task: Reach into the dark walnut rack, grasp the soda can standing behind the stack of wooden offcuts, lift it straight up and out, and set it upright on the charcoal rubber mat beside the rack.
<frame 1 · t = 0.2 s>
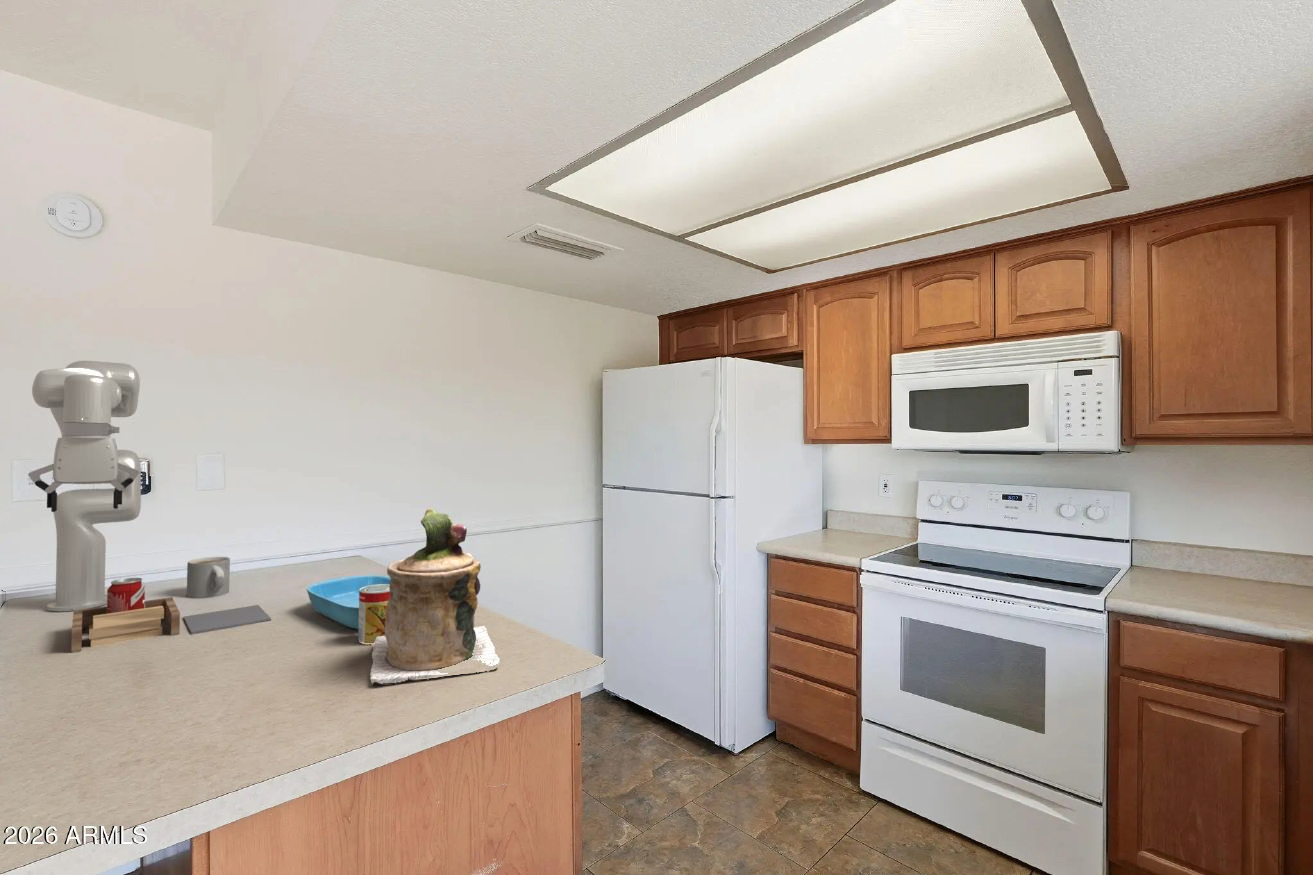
hand: (85, 509, 127), 30 cm above the counter, tool pointing down, fingers open, 9 cm apart
canned food: (377, 640, 136), on the counter
cookie jar: (434, 659, 125), on the counter
offcut stack: (127, 639, 134), on the counter
rubber mat: (227, 619, 148), on the counter
walnut rack: (126, 632, 137), on the counter
soda can: (125, 631, 139), resting in walnut rack
coffee mug: (209, 595, 171), on the counter
casserole dish: (367, 615, 155), on the counter
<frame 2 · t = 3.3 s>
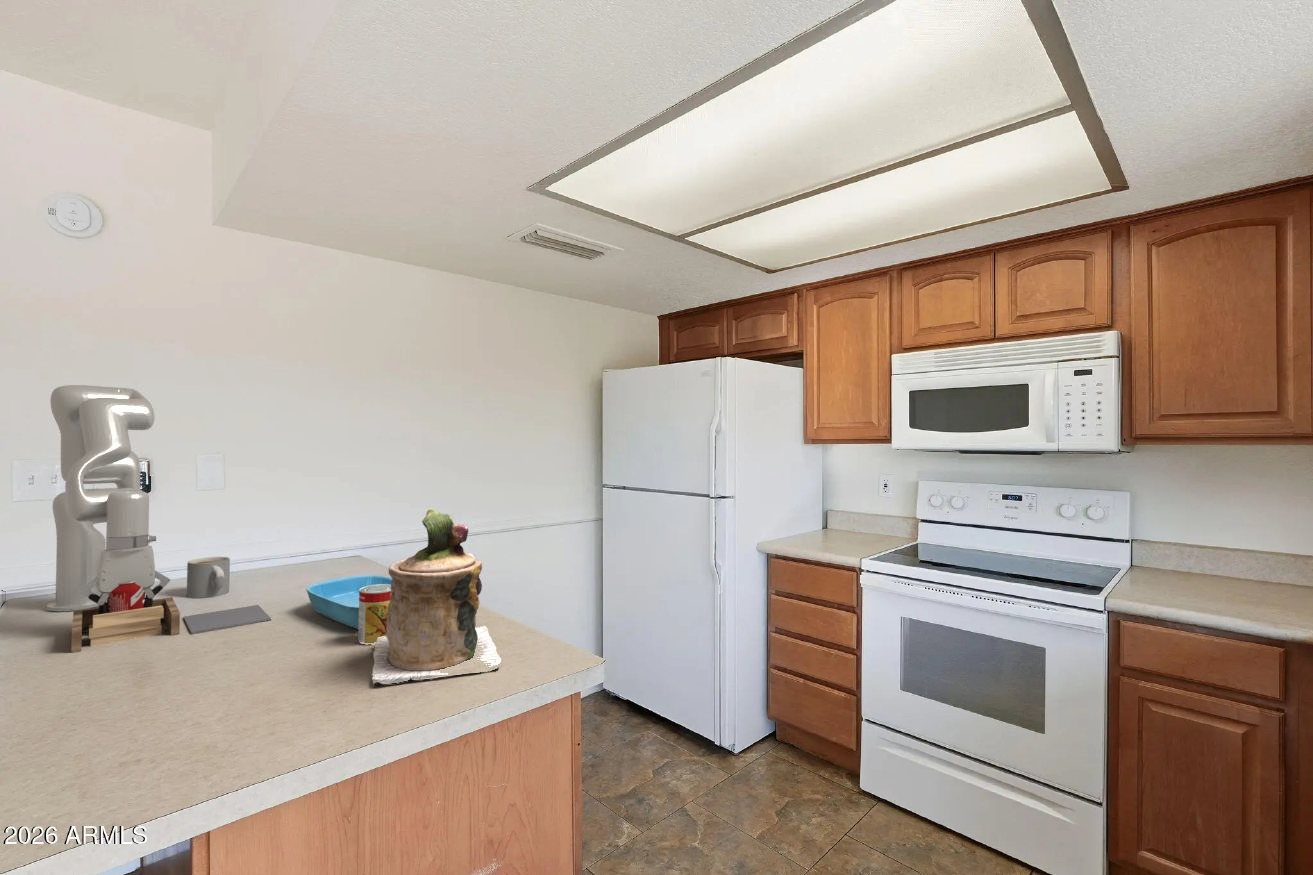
hand: (126, 616, 139), 3 cm above the counter, tool pointing down, fingers closed on soda can, 6 cm apart
soda can: (125, 631, 139), resting in walnut rack, touching gripper
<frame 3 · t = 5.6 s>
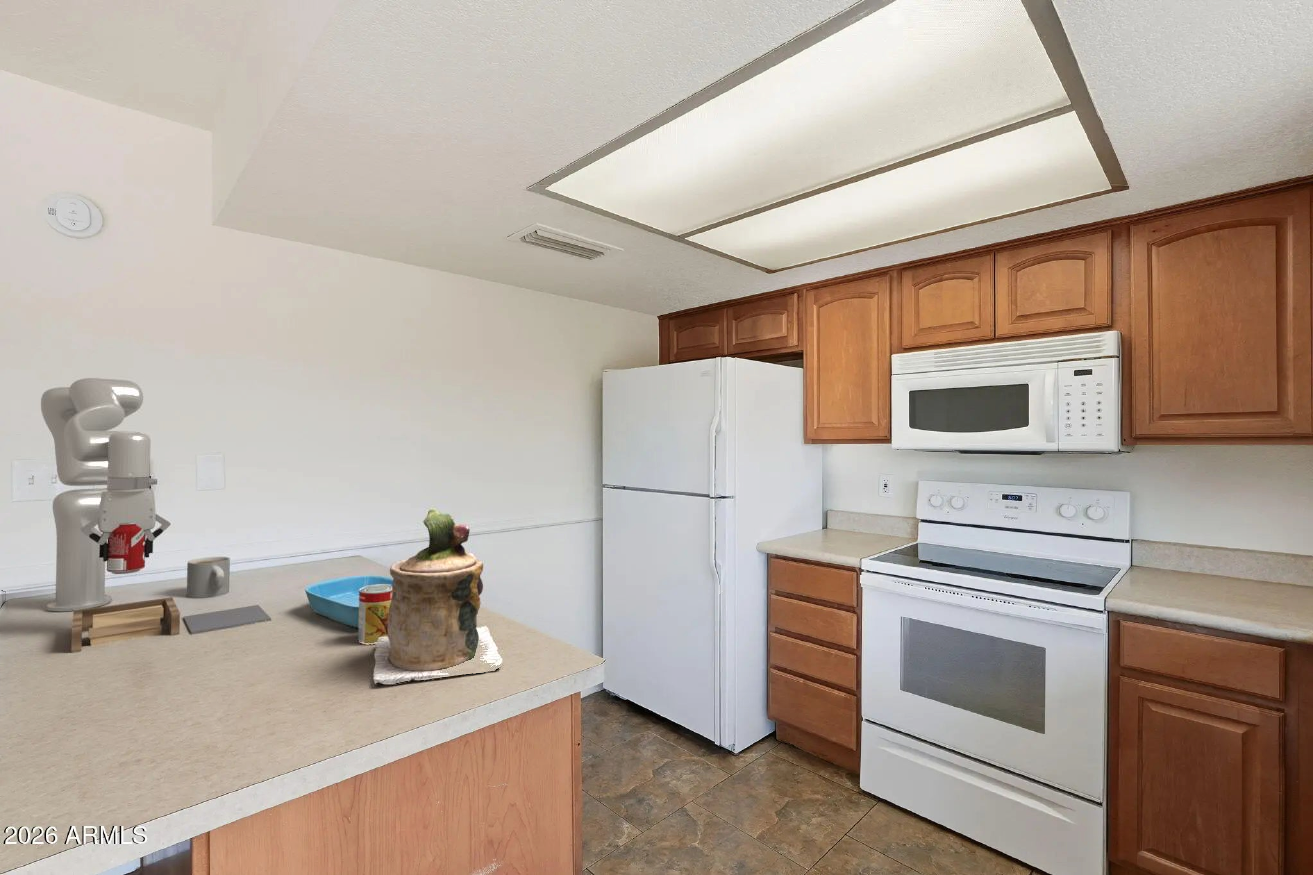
hand: (126, 557, 139), 17 cm above the counter, tool pointing down, fingers closed on soda can, 6 cm apart
soda can: (126, 572, 139), point 14 cm above the counter, touching gripper
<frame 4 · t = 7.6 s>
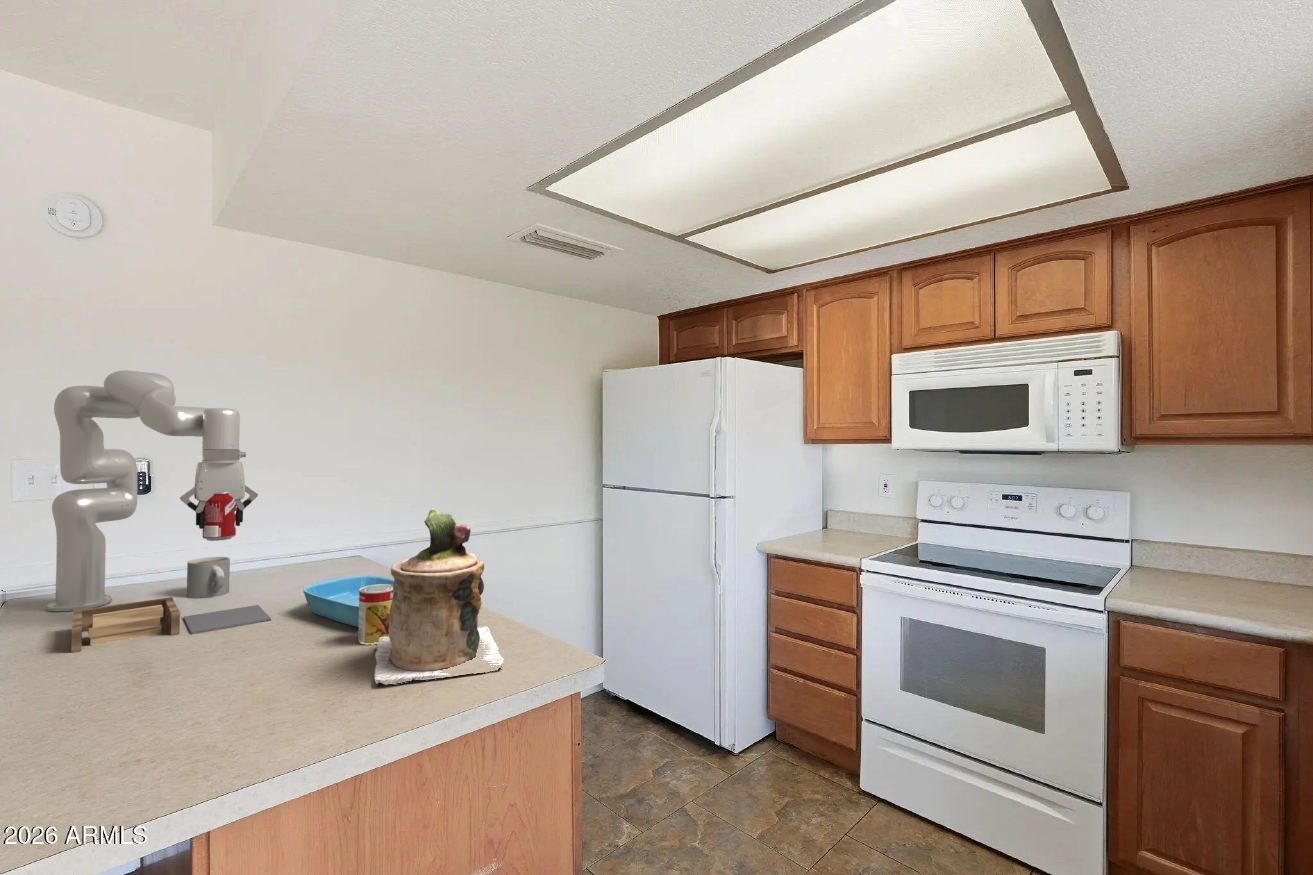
hand: (219, 526, 148), 24 cm above the counter, tool pointing down, fingers closed on soda can, 6 cm apart
soda can: (219, 539, 147), point 21 cm above the counter, touching gripper
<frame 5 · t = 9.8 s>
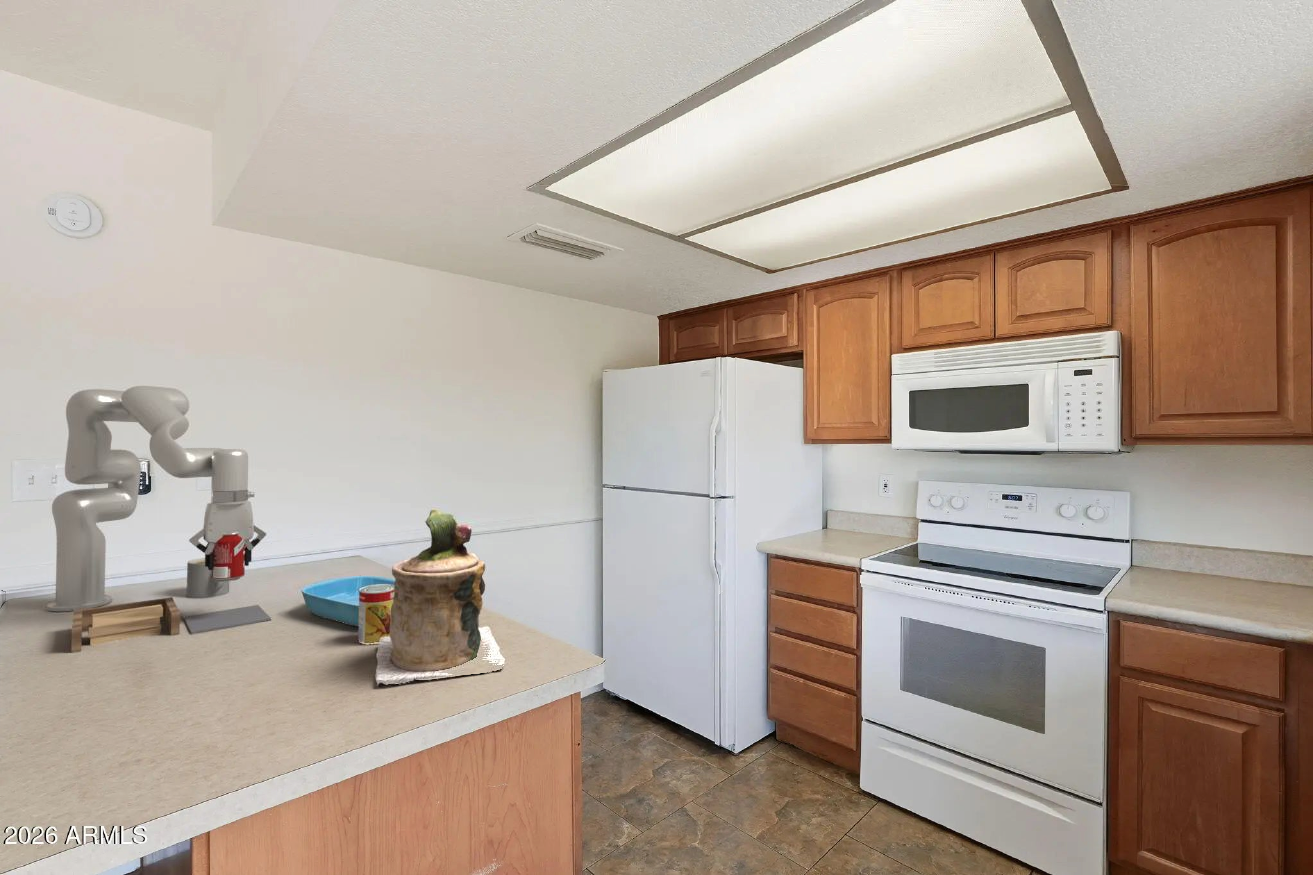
hand: (228, 566, 148), 14 cm above the counter, tool pointing down, fingers closed on soda can, 6 cm apart
soda can: (228, 580, 148), point 10 cm above the counter, touching gripper
when the fingers open (5 cm above the counter, at t = 11.9 s): soda can drops 1 cm, resting on rubber mat.
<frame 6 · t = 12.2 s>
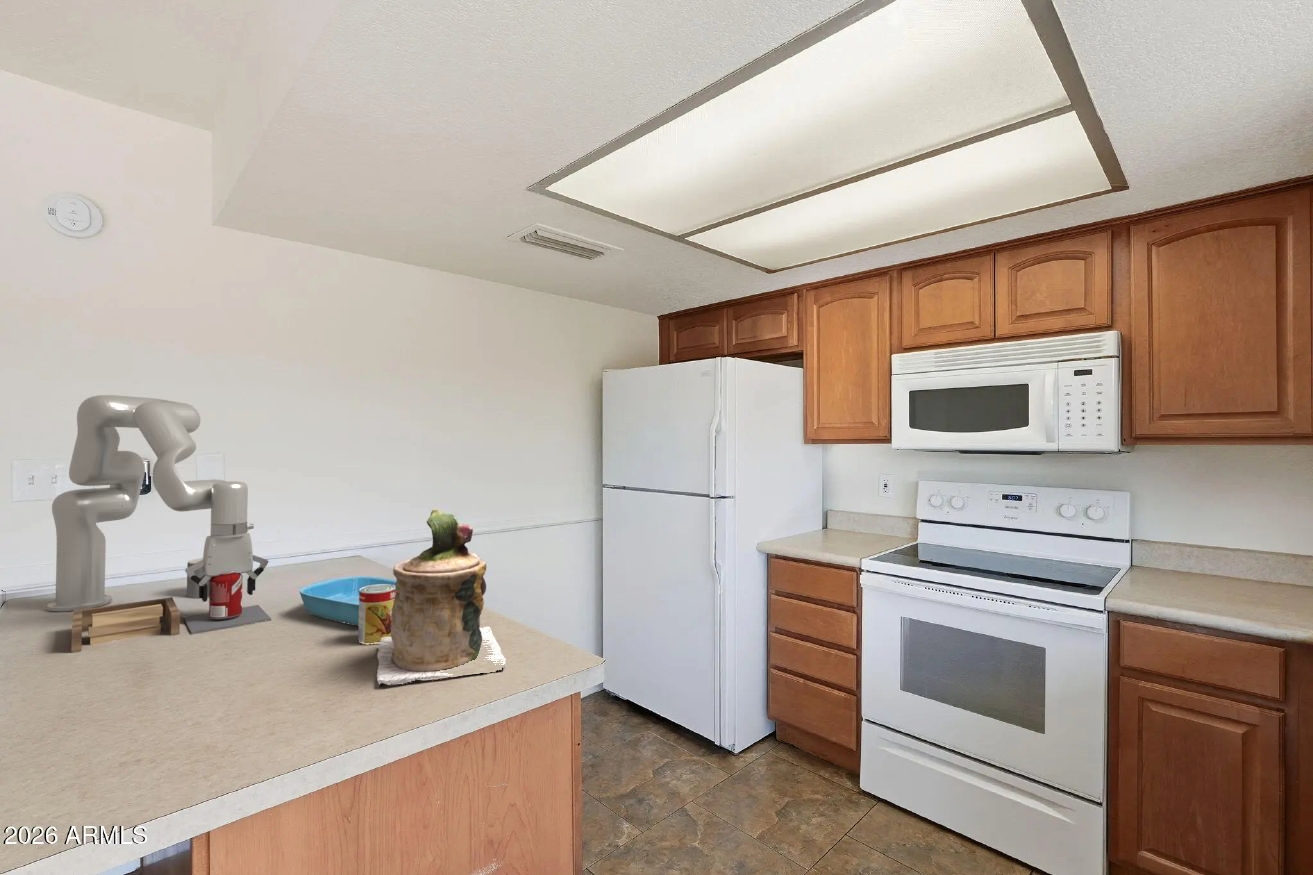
hand: (227, 597, 148), 6 cm above the counter, tool pointing down, fingers open, 9 cm apart
soda can: (225, 618, 148), resting on rubber mat
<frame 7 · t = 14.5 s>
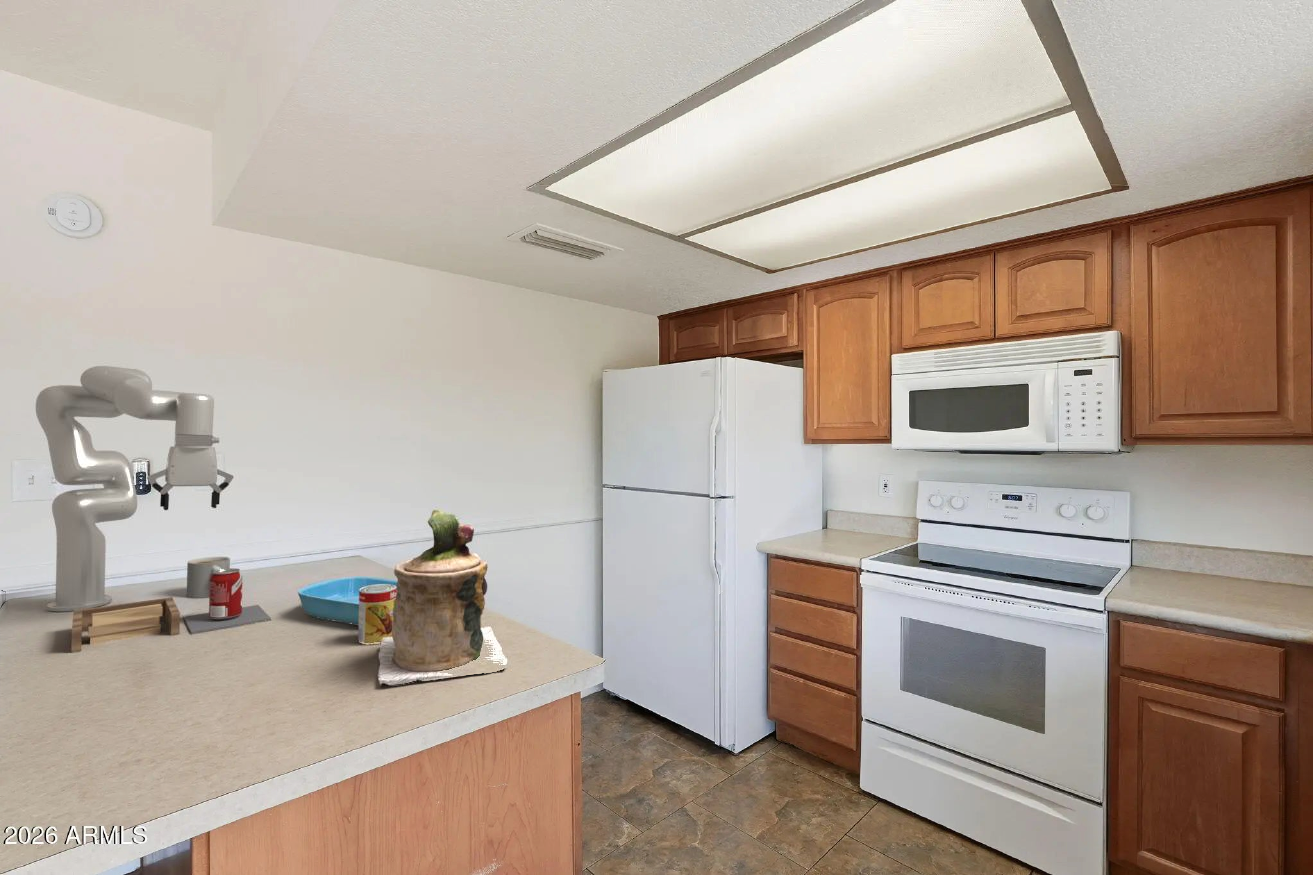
hand: (190, 508, 148), 28 cm above the counter, tool pointing down, fingers open, 9 cm apart
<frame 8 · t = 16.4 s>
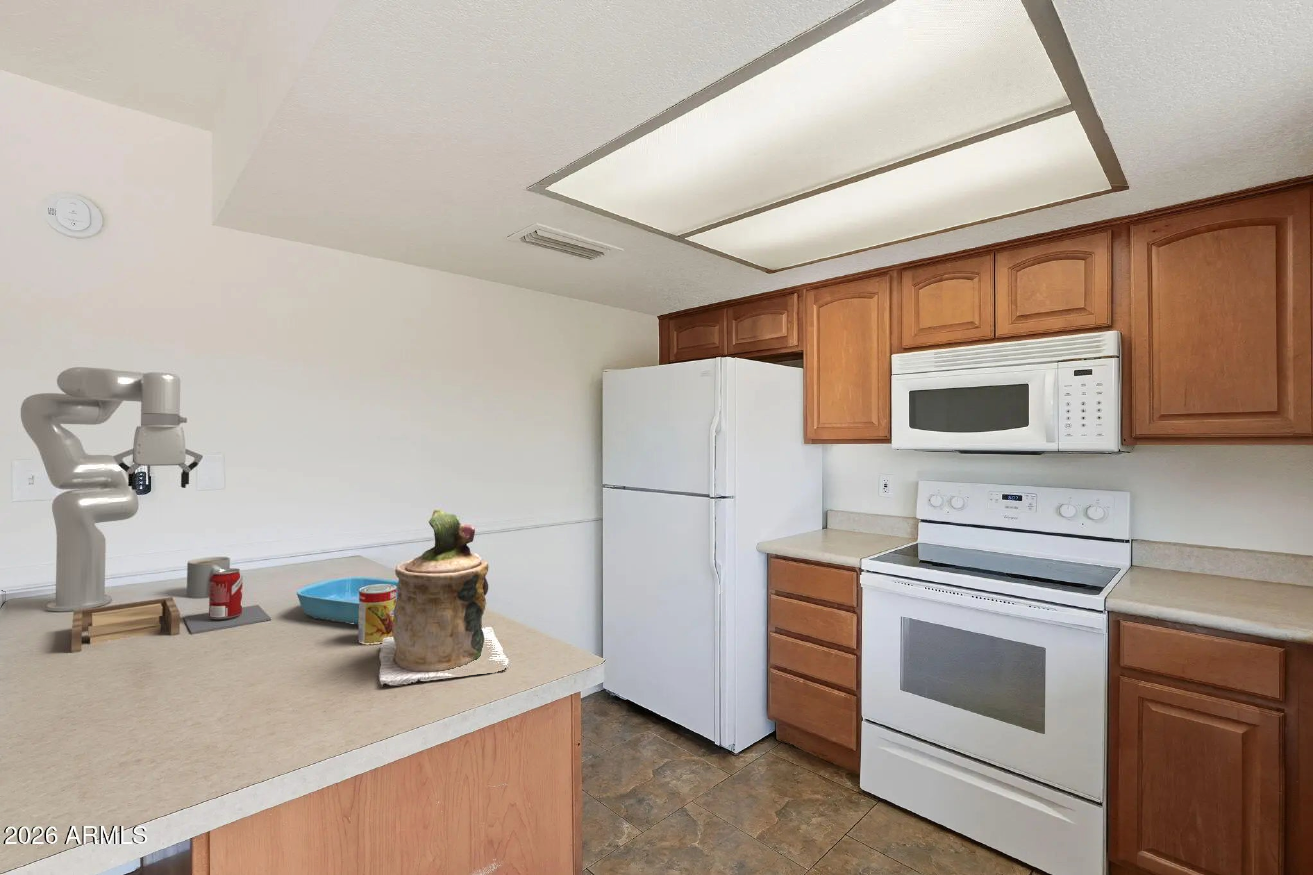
hand: (159, 488, 148), 33 cm above the counter, tool pointing down, fingers open, 9 cm apart
at the end: soda can inside the target area (0.3 cm from its centre), resting on rubber mat; soda can tilted 0°; offcut stack moved 2.7 cm from its start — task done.
